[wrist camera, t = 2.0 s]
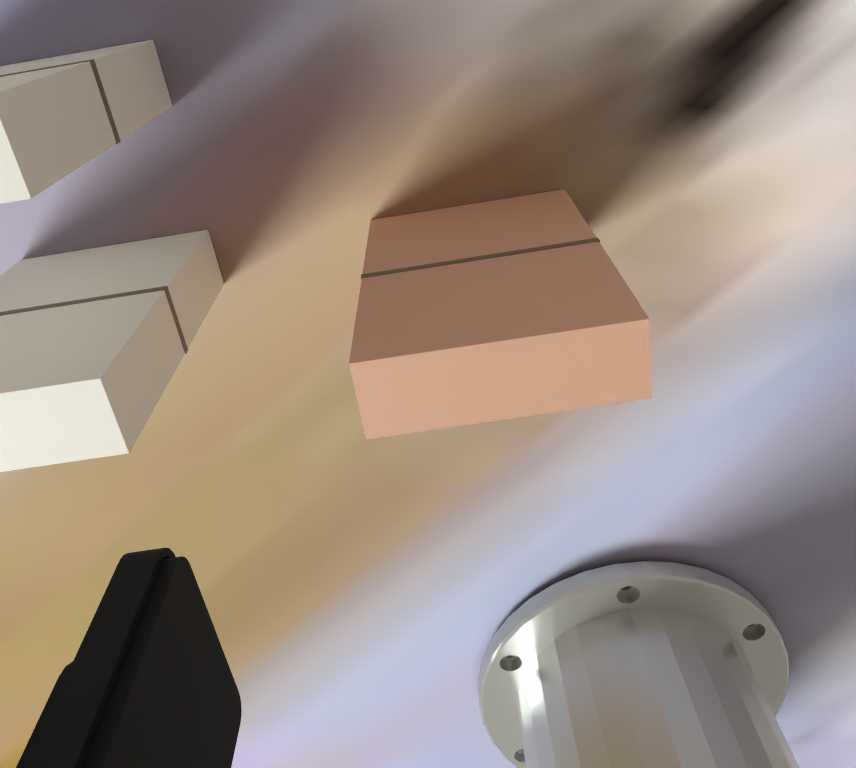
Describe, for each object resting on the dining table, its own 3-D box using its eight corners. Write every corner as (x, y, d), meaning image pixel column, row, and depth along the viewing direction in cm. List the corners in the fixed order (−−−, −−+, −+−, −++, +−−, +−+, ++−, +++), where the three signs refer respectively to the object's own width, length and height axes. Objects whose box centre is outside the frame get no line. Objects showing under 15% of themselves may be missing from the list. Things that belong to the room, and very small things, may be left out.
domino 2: (224, 284, 26) (130, 453, 17) (42, 312, 27) (-142, 493, 18) (208, 229, 25) (101, 377, 17) (20, 259, 26) (-184, 420, 17)
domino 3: (569, 245, 26) (652, 399, 17) (380, 275, 26) (365, 440, 17) (565, 188, 25) (650, 317, 16) (369, 219, 25) (348, 363, 16)
